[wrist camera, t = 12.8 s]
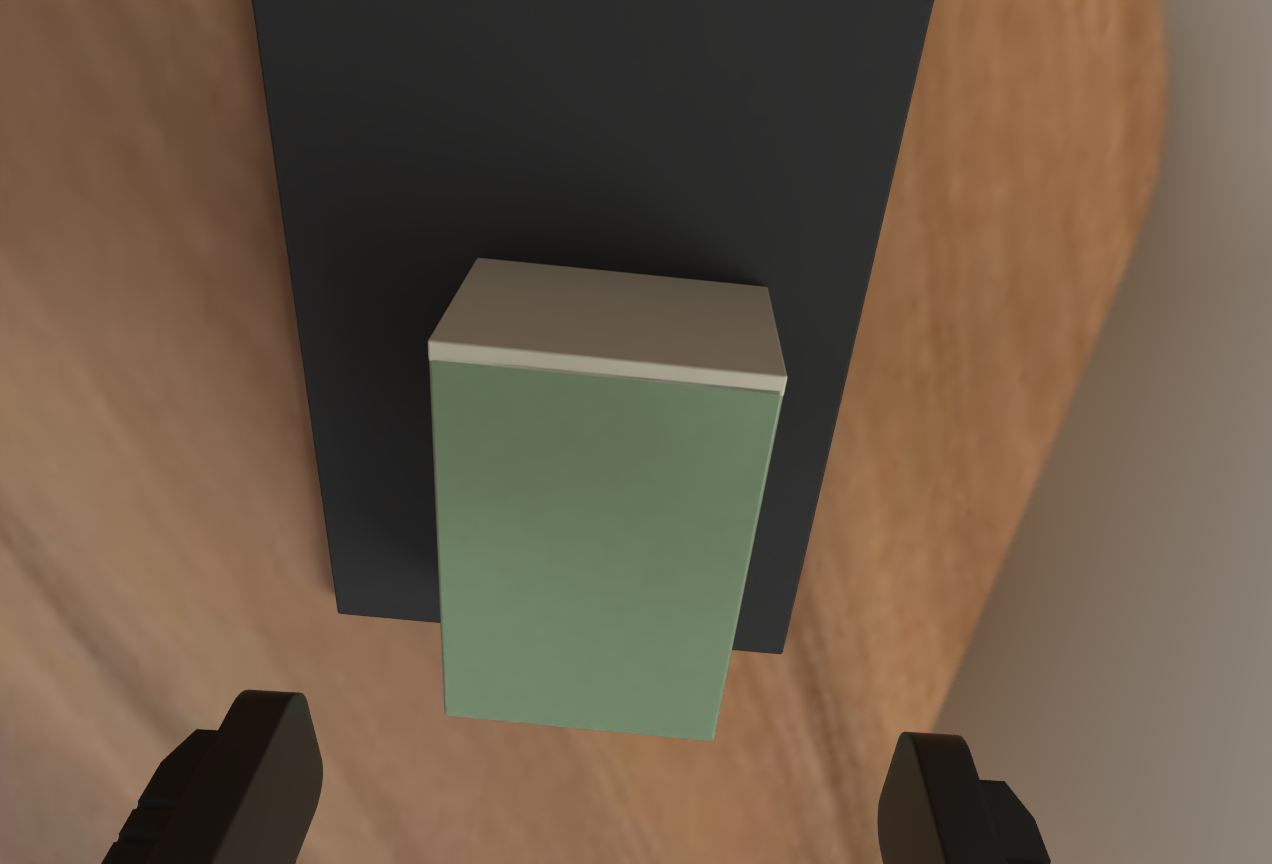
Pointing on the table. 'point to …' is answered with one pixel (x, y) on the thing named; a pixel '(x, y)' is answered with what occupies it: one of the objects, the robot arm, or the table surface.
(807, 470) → the felt mat
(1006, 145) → the table surface
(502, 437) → the top book
